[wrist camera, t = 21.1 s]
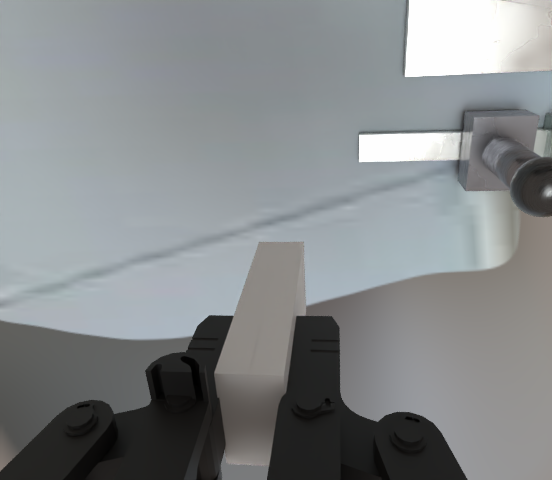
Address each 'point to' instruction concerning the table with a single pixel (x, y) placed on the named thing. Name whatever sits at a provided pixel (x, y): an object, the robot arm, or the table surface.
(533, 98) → the table surface
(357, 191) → the table surface
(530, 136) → the lever
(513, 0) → the jar
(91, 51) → the table surface
